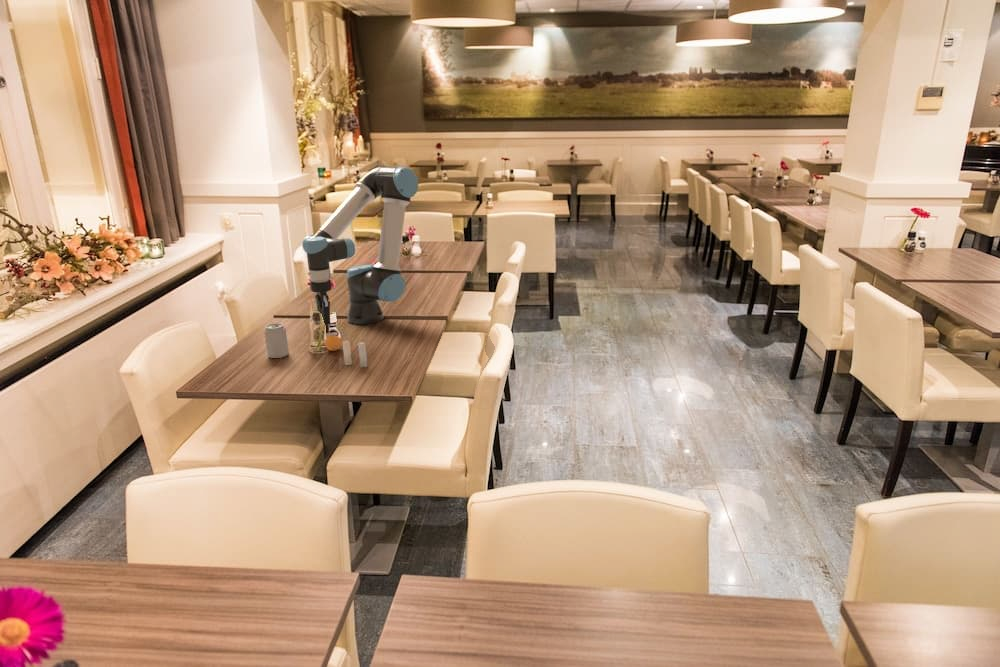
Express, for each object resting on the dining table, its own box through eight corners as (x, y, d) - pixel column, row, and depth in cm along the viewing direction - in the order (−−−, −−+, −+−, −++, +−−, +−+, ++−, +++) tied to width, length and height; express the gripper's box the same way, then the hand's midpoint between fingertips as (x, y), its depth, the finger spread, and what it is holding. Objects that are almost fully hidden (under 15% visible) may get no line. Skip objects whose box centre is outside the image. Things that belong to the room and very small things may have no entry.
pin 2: (359, 365, 236) (357, 343, 233) (366, 364, 237) (363, 341, 234) (361, 368, 234) (359, 345, 231) (368, 366, 235) (366, 343, 232)
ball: (323, 349, 253) (322, 334, 251) (339, 346, 255) (337, 331, 253) (328, 354, 248) (326, 339, 246) (344, 351, 250) (342, 335, 248)
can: (292, 352, 251) (288, 322, 247) (284, 359, 244) (279, 328, 240) (273, 352, 251) (268, 322, 248) (264, 359, 244) (259, 328, 241)
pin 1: (344, 364, 238) (341, 341, 235) (350, 362, 239) (348, 340, 236) (346, 366, 236) (343, 343, 233) (352, 364, 237) (350, 342, 234)
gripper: (306, 277, 251) (312, 337, 259) (314, 285, 241) (320, 347, 248) (326, 275, 255) (331, 334, 262) (335, 282, 244) (340, 343, 251)
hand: (326, 340), depth 255 cm, fingers closed
